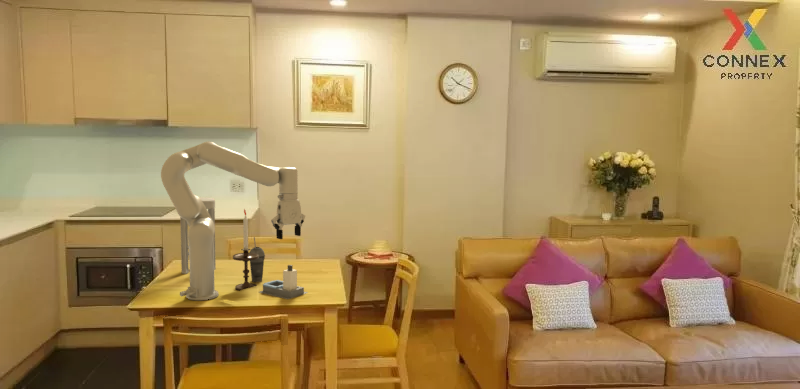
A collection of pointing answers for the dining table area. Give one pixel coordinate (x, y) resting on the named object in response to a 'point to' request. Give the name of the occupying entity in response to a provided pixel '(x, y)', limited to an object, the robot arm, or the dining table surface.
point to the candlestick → (245, 257)
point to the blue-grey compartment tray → (281, 290)
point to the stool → (210, 206)
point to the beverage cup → (257, 264)
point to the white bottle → (290, 278)
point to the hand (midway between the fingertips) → (288, 237)
